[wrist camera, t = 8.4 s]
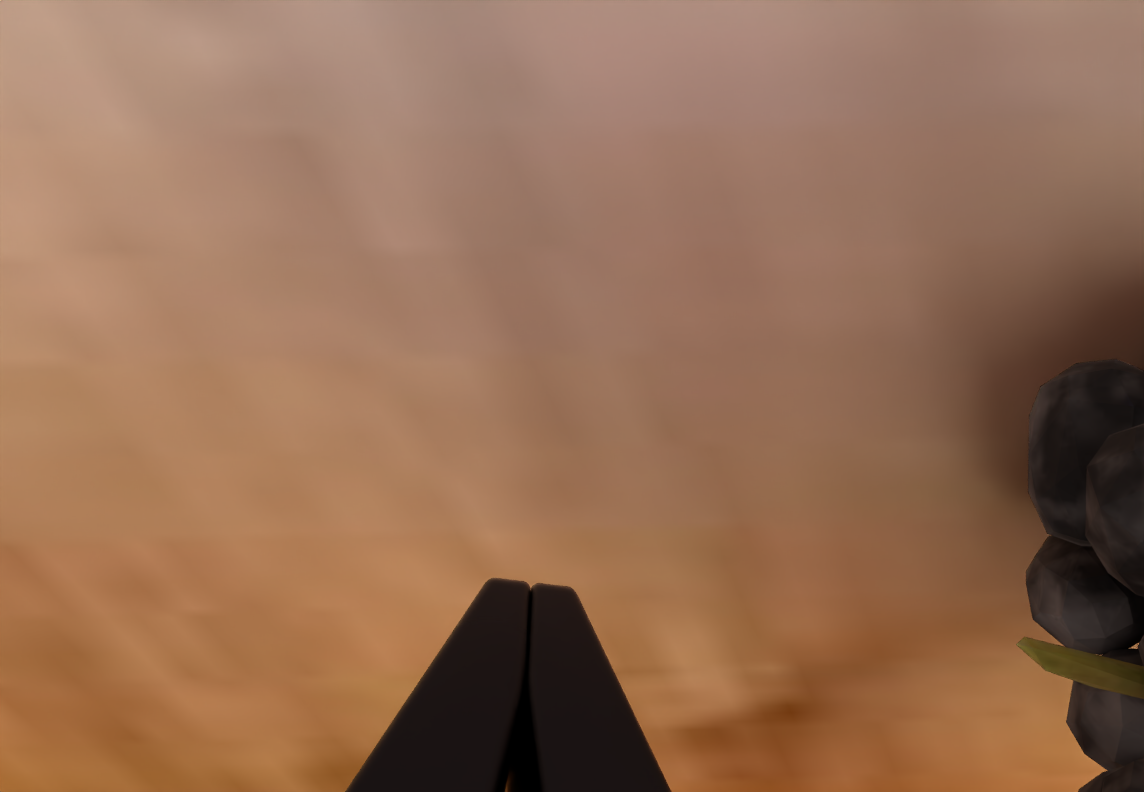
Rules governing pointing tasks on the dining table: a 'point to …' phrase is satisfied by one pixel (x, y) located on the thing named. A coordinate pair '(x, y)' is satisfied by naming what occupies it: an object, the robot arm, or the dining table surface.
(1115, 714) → the fruit
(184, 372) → the dining table surface
